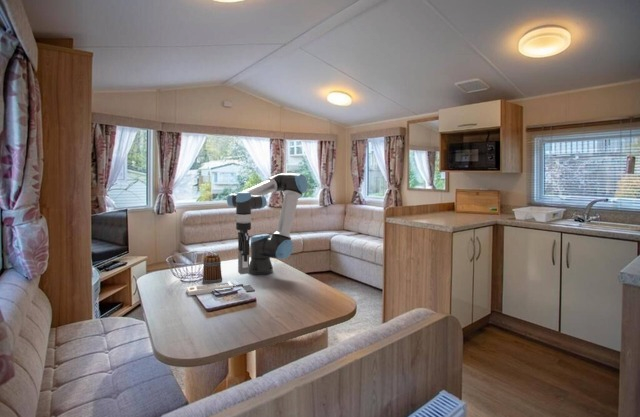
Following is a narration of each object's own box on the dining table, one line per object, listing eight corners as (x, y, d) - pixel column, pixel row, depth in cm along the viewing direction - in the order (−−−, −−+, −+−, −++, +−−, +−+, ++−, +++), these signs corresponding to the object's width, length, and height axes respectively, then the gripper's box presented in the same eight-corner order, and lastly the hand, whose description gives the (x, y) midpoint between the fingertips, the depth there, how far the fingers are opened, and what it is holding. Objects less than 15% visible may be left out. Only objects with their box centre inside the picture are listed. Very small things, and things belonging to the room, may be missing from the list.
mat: (249, 285, 192) (249, 284, 192) (254, 291, 184) (254, 289, 184) (233, 288, 188) (233, 287, 187) (237, 293, 180) (237, 292, 180)
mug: (218, 286, 190) (218, 259, 188) (199, 285, 190) (199, 258, 188) (227, 277, 205) (226, 252, 204) (209, 277, 206) (208, 252, 204)
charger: (246, 271, 188) (246, 249, 186) (249, 273, 184) (249, 251, 182) (238, 272, 185) (238, 250, 184) (240, 274, 181) (240, 252, 180)
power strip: (241, 285, 192) (241, 278, 192) (244, 289, 186) (244, 282, 186) (186, 292, 179) (186, 286, 179) (188, 297, 173) (188, 290, 173)
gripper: (232, 220, 188) (232, 262, 190) (241, 224, 172) (241, 271, 175) (245, 219, 191) (245, 261, 194) (255, 224, 176) (255, 269, 178)
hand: (243, 266), depth 184 cm, fingers closed on charger, 4 cm apart
